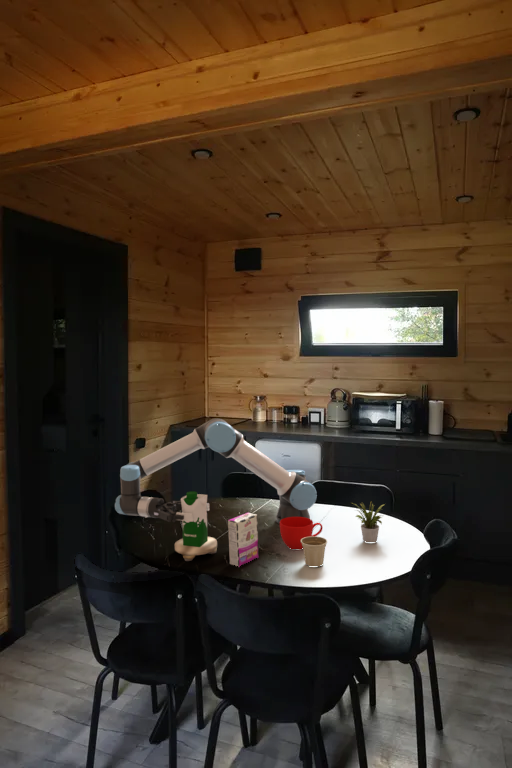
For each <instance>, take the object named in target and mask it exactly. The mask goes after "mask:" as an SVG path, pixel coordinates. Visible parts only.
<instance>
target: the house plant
mask: <svg viewBox="0 0 512 768" xmlns="http://www.w3.org/2000/svg"><path fill="white" fill-rule="evenodd" d="M351 504H353V505H355V506H357V504H356V503H353V502H351ZM359 505H360V506H361V507H357V508H355V509H356V511H357V512H358V513H360V515H359V514H356V515H355V518H358V519H359V520H360V521H361V524H360V529H361V537H362V540H364V541H366V542H376V541H377V542H378V536H379V532H380V531H379V530H380V526H379V524H378V523H380V525H382V523H383V522H382V521H381V520H380V519H383V516H380V515H378V513H379V512H380V511H381V510H382V507H383V506H385V505H386V503H385V504H381V505H380V506H378V508H377V509H376V510H375V511H374V503H373V501H370V504H369V510H368V511H367V508H366V505H365V504H364V503H363V502H361V503H360V502H359ZM364 541H363V542H364ZM377 542H376V543H377Z"/></svg>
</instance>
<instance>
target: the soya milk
mask: <svg viewBox="0 0 512 768" xmlns="http://www.w3.org/2000/svg"><path fill="white" fill-rule="evenodd" d="M180 501H181V505H182V510H181V513H189V514H193V522H190V521H182V538H183V545H184V546H193V547H201V546H202V545H203V544H204V543H206V542H207V541H208V537H209V536H208V513H207V512H208V511H207V503H208V494H202V493H201V494H200V493H199V494H198V491H194V490H193V491H187V492H186V495H184V496H182V497H181V498H180Z"/></svg>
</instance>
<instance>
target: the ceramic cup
mask: <svg viewBox="0 0 512 768" xmlns="http://www.w3.org/2000/svg"><path fill="white" fill-rule="evenodd" d="M316 526H320V528H319V530H318V532H316V533H314V534H313V530H314V528H315V527H316ZM279 531H280V537H281V539H282V542H283V543H284V545H286V547H287V548H288V547H289V548H291V549H290V550H292V549H302V548H303V546H302V543H301V539H303V538H305V537H311V536H317V537H318V536H319V535H320V534H321V533H322V532H323V525H322V523H320V522H314V521H313V520H312V519H311V518H310V519H309V518H305V517H287V518H284V519H282V520H281V521H280V524H279ZM289 548H288V549H289ZM302 550H303V549H302Z"/></svg>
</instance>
